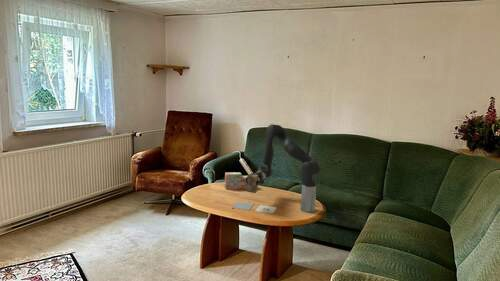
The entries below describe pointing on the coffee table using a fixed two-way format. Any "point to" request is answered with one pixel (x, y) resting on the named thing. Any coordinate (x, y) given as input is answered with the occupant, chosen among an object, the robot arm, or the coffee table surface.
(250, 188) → the walnut block
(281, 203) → the coffee table surface
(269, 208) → the white tile
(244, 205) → the grey mat
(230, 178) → the stack of blocks
